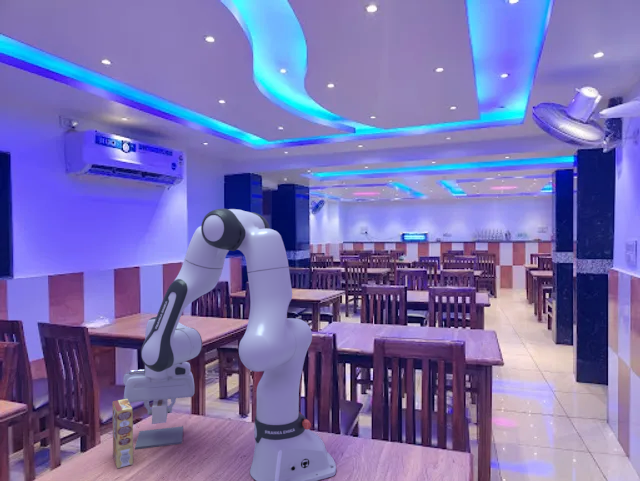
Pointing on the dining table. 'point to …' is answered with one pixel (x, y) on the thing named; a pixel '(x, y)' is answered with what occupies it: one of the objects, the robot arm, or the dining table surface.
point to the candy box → (122, 433)
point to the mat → (159, 437)
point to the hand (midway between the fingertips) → (160, 413)
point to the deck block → (159, 411)
